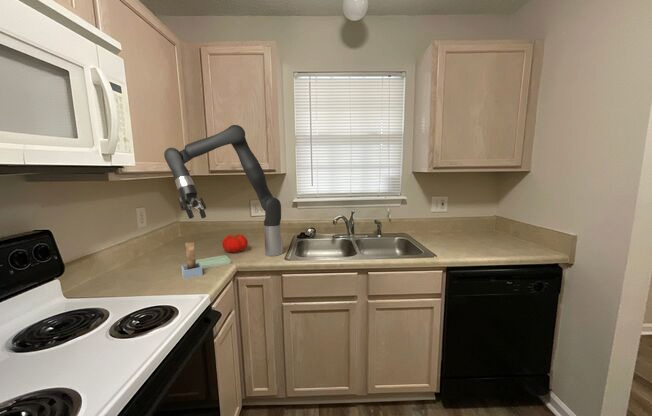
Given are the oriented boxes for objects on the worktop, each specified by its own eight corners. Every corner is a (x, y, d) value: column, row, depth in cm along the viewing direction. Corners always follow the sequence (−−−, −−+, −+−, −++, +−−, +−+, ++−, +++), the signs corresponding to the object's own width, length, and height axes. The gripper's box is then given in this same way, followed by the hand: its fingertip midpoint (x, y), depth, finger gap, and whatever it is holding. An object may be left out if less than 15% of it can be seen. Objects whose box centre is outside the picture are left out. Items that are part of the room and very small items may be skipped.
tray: (226, 258, 151) (225, 254, 151) (231, 264, 141) (231, 260, 141) (194, 264, 143) (194, 260, 142) (197, 271, 133) (197, 267, 132)
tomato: (243, 246, 176) (242, 231, 175) (251, 252, 162) (250, 236, 161) (219, 250, 168) (218, 234, 167) (226, 256, 155) (224, 239, 153)
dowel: (196, 272, 129) (193, 241, 127) (197, 274, 126) (194, 243, 124) (187, 273, 127) (184, 242, 125) (188, 276, 124) (185, 244, 122)
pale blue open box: (200, 271, 132) (199, 262, 132) (202, 276, 126) (202, 267, 125) (182, 275, 128) (181, 265, 127) (184, 280, 122) (183, 270, 121)
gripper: (181, 182, 124) (193, 214, 122) (202, 185, 138) (213, 214, 136) (168, 189, 125) (180, 221, 123) (190, 191, 139) (202, 220, 137)
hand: (198, 217), depth 130 cm, fingers open, 8 cm apart
